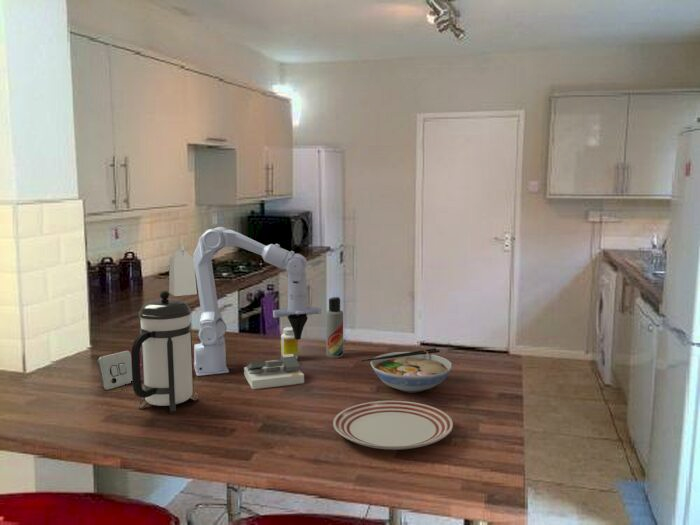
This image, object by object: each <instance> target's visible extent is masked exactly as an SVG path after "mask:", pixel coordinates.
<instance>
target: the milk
mask: <svg viewBox="0 0 700 525" xmlns="http://www.w3.org/2000/svg"><path fill="white" fill-rule="evenodd" d="M168 263H169V265H168V266H169V268H168V270H169V272H168V274H169V275H168V276H169V284H168V286H169V288H168V290H169V292H168V293H169V294H171V295H172V296H174V297H178V296H180V297H183V296H192V295H197V294H198V293H197V291H198V288H197V279H196V273H195V266H194V259H193V256H191V254H189V253H188V252H187V251H186V250H185V245H184V244H182V243H178V246H177V250H175V251H174V252H173V253H172V255H170V257H169V260H168Z"/></svg>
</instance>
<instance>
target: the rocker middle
mask: <svg viewBox="0 0 700 525" xmlns="http://www.w3.org/2000/svg"><path fill="white" fill-rule="evenodd" d="M264 361H265V360H264ZM277 366H283V363H282V361H281V360H278V359H273V360H266V361H265V367H277Z"/></svg>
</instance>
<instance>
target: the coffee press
mask: <svg viewBox="0 0 700 525" xmlns="http://www.w3.org/2000/svg"><path fill="white" fill-rule="evenodd" d="M159 297H160V299H154V300H151V301H148V302H145V303H144V304H143V305H142V307H141V308H140V311H138V317H139V318H140V327H139V333H140V334H139V335H138V336H137V337H136V338H135V339H134V341H133V344H132V346H131V360H132V381H133V382H132V389H133V392H134V394H135V396H137V397H139V398H141V400H140V401H139V402H138V408H139V409H140V410H143V409H145V408H146V407H147V406H148V405H149V404H150V405H153V406H157V407H158V406H160V407H162V406H163V407H166V406H168V409H169V413H170V414H176V413H177V408H176V407H177V406H176V405H179V404H181V403H184V402H186V401H188V400H189V399H191V400H192V401H194V402H195V401H196V402H197V401H198V400H199V396H198V394H197V393H196V391H194V372H193V371H194V369H193V368H194V362H193V341H192V338H193V337H192V323H191V313H192V309H191V307H190V306H189V304H188V303H187V302H186V301H184V300H182V299H175V298H169V297H170V293H169V292H168V291H167V290H162V291H161V292H160V293H159ZM140 356H141V359H140ZM141 376H142V377H141ZM141 378H142V379H141ZM193 393H194V394H195V395H196V397H195V398H193V397H192V395H193ZM144 400H145V401H146V403H144V405H143V406H141V405H142V403H143V402H144Z"/></svg>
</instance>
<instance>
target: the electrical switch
mask: <svg viewBox="0 0 700 525" xmlns="http://www.w3.org/2000/svg"><path fill="white" fill-rule="evenodd" d="M131 354H132V352H131V351H129V350H124V351H119V352H116V353H113V354H108V355H107V354H106V355H103V356H99V358H98V359H97V360H96V363H97V370H98V375H99V379H100V383H101V384H100V385H101V387H102V388H103V389H104V390H110V389H115V388H119V387H121V386H125V384H126V385H129V384H132V383H131V381H132V360H131Z"/></svg>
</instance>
